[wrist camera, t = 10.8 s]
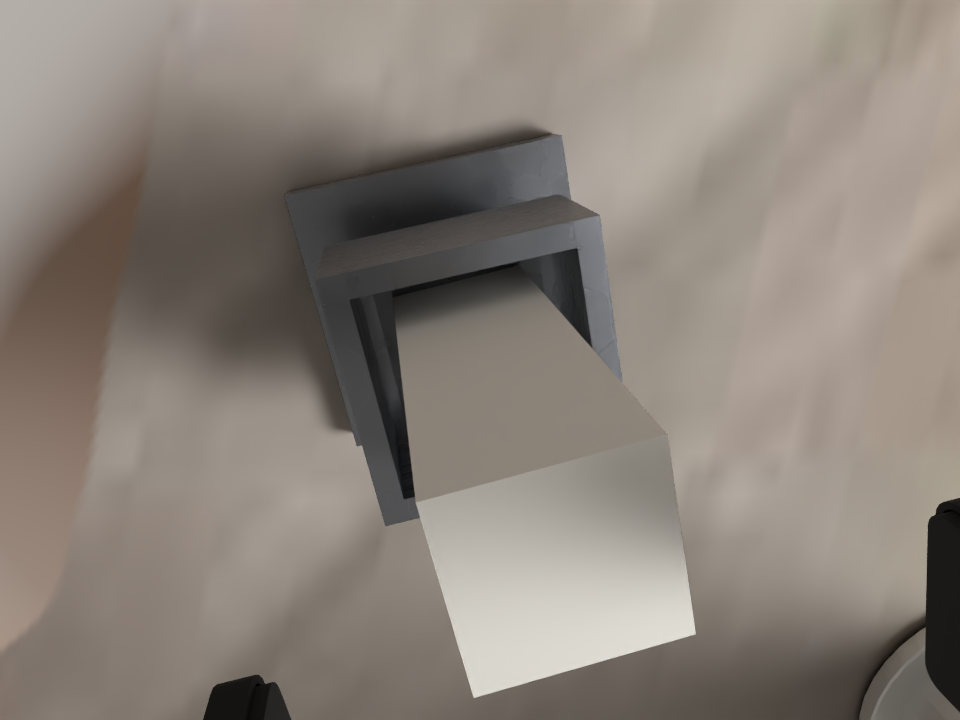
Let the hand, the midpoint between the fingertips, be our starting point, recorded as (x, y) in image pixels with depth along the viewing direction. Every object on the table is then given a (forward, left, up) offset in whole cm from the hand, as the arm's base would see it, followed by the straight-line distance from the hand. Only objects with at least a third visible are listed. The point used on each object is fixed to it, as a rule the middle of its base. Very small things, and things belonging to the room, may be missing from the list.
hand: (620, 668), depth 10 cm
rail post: (0, 0, -14) cm, 14 cm away
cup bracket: (0, 0, -20) cm, 20 cm away
